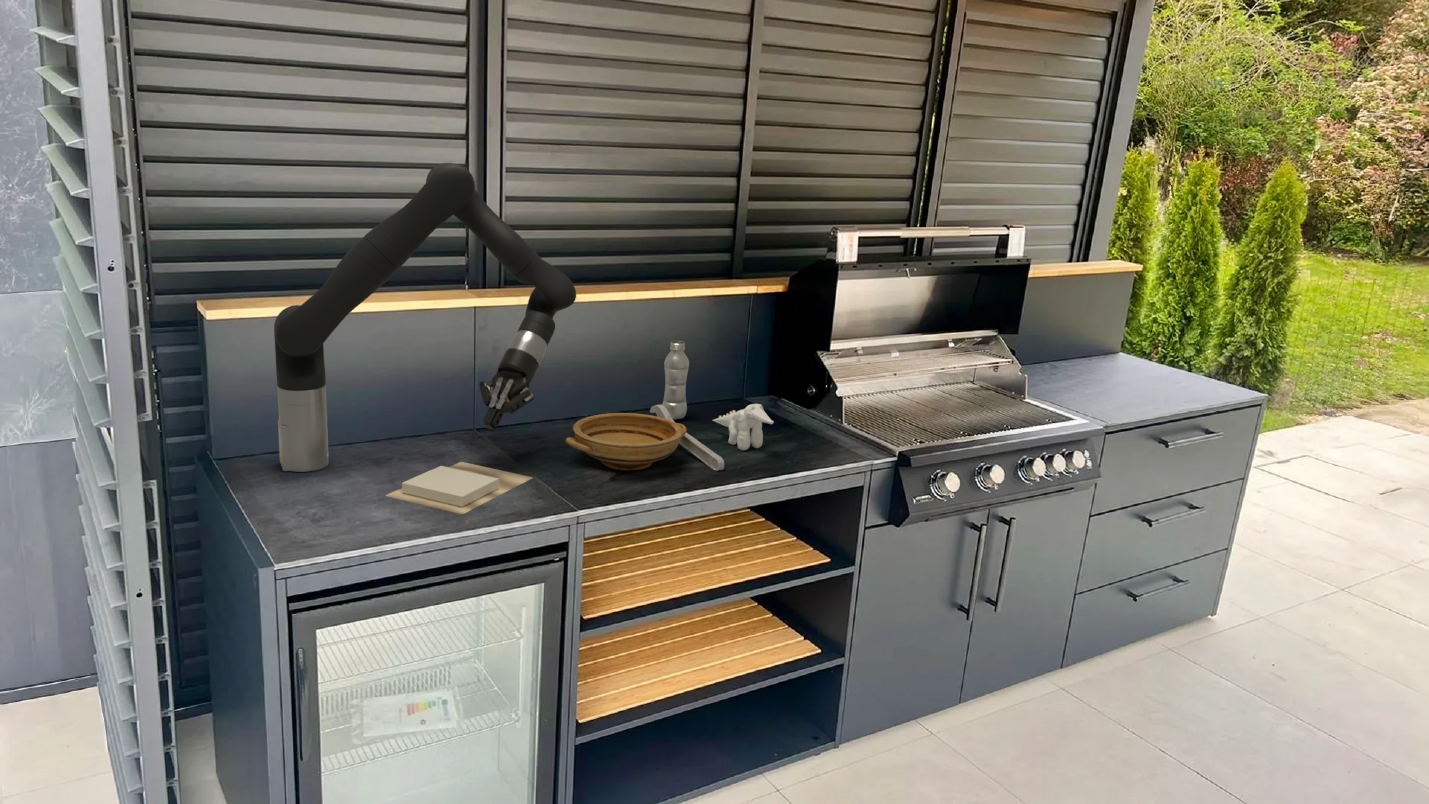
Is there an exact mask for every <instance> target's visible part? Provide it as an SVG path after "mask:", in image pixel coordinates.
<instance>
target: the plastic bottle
mask: <svg viewBox="0 0 1429 804" xmlns="http://www.w3.org/2000/svg"><path fill="white" fill-rule="evenodd" d="M669 349H670V352H669V353H668V354H667V355H666V357H665V360H664V365H663V367H664V377H665V378H664V379H665V380H664V382H665V385H664V393H663V394H664V396H663V401H662V403H661V405H663V406H665V407H666V409H667V411H668V412H669V414H670V416H671V418H672V419H673V420H682V419H684V417H685V416H686V415H687V411H688V407H687V406H688V405H687V397H686V394H687V392H686V386H687V377H688V373H689V367H690V361H689V358H688V356H687V355H686V353H685V350H686V343H685V341H682V340H672V341H670V347H669Z"/></svg>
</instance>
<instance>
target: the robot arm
mask: <svg viewBox="0 0 1429 804" xmlns="http://www.w3.org/2000/svg"><path fill="white" fill-rule="evenodd" d="M475 182H476V181H475V179H474V176H473V175H472V173H471V172H470V170H468V169H467V168H466V167H464V166H462V165H460V164H458V163H453V162H443V163H440V164H439V163H438V164H437V165H434V166H433V167H432V168H431V169H430V170H429V172H428V174H427V176H426V179H425V183H424V185H423V186H422V187H421V189H419V191H417V193H416V194H415V195H414V196H413V197H412V198H411V199H410V200H409V201H408V202H407V203H406V204H405V205H404V206H403V207H402V208H400V209H399V210H398V211H396V212H394V213H393V214H391V215H390V216H388V217H387V218H386V219H383V221H382V222H380V223H378V224H377V225H376V226H374V227H373V228H372V229H371V230H370V231H368V232H367V233H366V234H365V235H364V236H363V237H361V239H359V241H357V242H356V243H355V244H354V245H353V246H352V247H351V248H350V249H349V251H347V252H346V253H345V255H344V256H343V258H341V260H339V262H338V264H337V265H336V267H335V268H334V270H333V271H332V272H331V274H330V275H329V276H328V278H327V280H326V281H325V282H324V284H323V285H322V286H320V288H319V289H318V290H317V291H315V293H314V294H312V296H311V297H308V299H307V300H305V301H304V302H303V303H302V304H296V305H295V304H293V305H291V306H288V307H285V308H284V309H282V310H281V311H280V312H279V313H278V315H277V316H276V318H275V321H274V324H273V325H274V326H273V328H274V329H273V332H274V334H273V335H274V337H273V338H274V351H275V353H274V354H275V370H276V374H275V375H276V386H277V404H278V406H277V407H278V419H277V429H278V451H279V463H280V466H281V468H282V471H283V472H295V473H296V472H299V473H302V472H303V473H304V472H305V473H307V472H314V471H318V470H321V469H322V470H323V469H324V468H326V467H327V466H329V454H330V453H329V439H328V437H329V434H328V432H329V431H328V407H327V385H326V384H327V382H326V381H327V380H326V366H325V351H324V350H325V348H324V344H325V342H326V341H327V340H328V338H329V337H330V336H331V335H332V334H333V332H335V330H336V329H337V328H338V326H340V324H341V323H342V321H344V320H345V318H346V317H347V316H348V315H349V314H350V313H352V312H353V310H355V308H357V307H359V306H360V305H361V304H362V303H363V302H364V301H365V300H367V299H368V298H369V297H370V296H372V294H374V293H375V292H376V291H377V290H378V289H380V287H382V285H384V284H385V283H386V282H387V281H388V280H389V279H390V278H391V277H392V276H393V275H395V273H397V271H399V270H400V268H402V267H403V265H404V264H405V263H406V262H407V261H408V260H409V259H410V258H411V257H412V256H413V255H414V254H415V252H416V251H417V250H418V249H419V248H420V247H421V245H422V244H424V242H425V241H426V239H427V238H429V236H430V235H431V234H432V233H433V232H434V231H435V230H436V229H438V228H439V227H440V226H442V224H443V223H445V222H446V221H447V220H449V219H450V218H451V217H452V216H455V218H457V219H458V220H459V221H460V222H462V223H463V225H465V226H466V227H467V228H468V229H469V230H470V231H471V232H472V233H473V234H474V236H476V237H477V239H478V240H479V241H480V242H482V244H483V245H484V246H485V247H486V248H487V250H488V251H489V252H490V253H491V254H492V255H493V256H494V258H495V259H496V260H497V261H498V262H499V264H500V265H502V267H504V268H505V270H506V271H508V273H509V274H510V275H511V276H512V277H513V278H514V279H515V280H517V281H518V282H519V283H520V284H530V285H532V286H534V289H533V290H532V292H531V294H530V296H529V298H528V301H527V306H526V309H525V316H524V318H523V320H522V321H521V323H520V325H519V327H518V329H517V331H516V333H515V335H513V337H512V338H511V341H510V342H509V344H508V347H507V348H506V350H505V352H504V354H503V356H502V357H501V360H500V362H499V364H498V366H497V371H496V374H494V375H493V376H492V378H491V380H489V381H487V382H485V381H482V380H481V381H480V382H479V384H478V385H479V389H480V394H481V398H482V402H483V404H484V405H485V406H486V408H487V409H488V410H487V412H486V414H485V416H484V417H483V425H484V426H485V428H486V429H491V430H495V429H496V428H497V427H498V426H499V424H500V422H501V420H502V419H503V416H504V415H506V414H507V413H509V414H510V415H513V414H514V413H516V412H517V411H518V410H520V409H521V408H524V407H525V406H526V405H528V404H529V403H531V402H532V401H534V399H535V396H534V394H533V393H532V392H531V391H530V390H529V388H530V383H532V382H533V379H534V377H535V376H536V373H537V371H538V369H539V367H540V364H541V363H542V361H543V358H544V356H545V354H546V350H547V348H548V346H549V344H550V342H551V340H552V337H553V336H554V333H555V329H556V323H555V321H554V319H553V318H554V317H555V314H556V313H557V312H559V311H562V310H566V309H567V308H569V307H571V306H572V305H573V304H574V302H576V299H577V290H576V287H575V285H574V284H573V282H572V280H571V279H570V278H569V276H567V275H566V274H565V273H563V272H562V271H561V270H559V269H558V268H556V267H555V266H554V265H552V264H550V263H549V262H547V261H546V260H544V259H543V258H541V256H539V254H538V253H537V252H536V251H535V250H534V249H533V248H532V247H531V246H530V245H529V243H527V241H525V239H524V238H522V236H521V235H519V233H517V232H516V231H515V230H514V229H513V228H512V227H510V225H509V224H507V222H505V221H504V220H503V219H501V217H499V215H498V214H497V213H495V212H494V211H493V210H492V208H490V206H489V205H488V204H487V203H486V202H485V201H484V199H483V197H481V196H480V194H479V192H478V191H477V190H476V183H475Z"/></svg>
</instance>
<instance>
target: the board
mask: <svg viewBox="0 0 1429 804" xmlns="http://www.w3.org/2000/svg"><path fill="white" fill-rule="evenodd" d="M448 467H449V468H453V469H458V470H463V471H467V472H472V473H476V474H481V475H485V476H490V477H494V478H499V488H498V489H496V490H494V491H492V492H490V493H488V494H487V495H485V496H483V497H481V498H479V499H477V500H475V501H473V502H471V503H469V504H467V505H465V506H463V507H461V506H457V505H453V504H448V503H444V502H440V501H436V500H431V499H427V498H423V497H419V496H414V495H410V494H406V493H402V487H401V488H399V489H396V490H395V491H392V492H390V493H387V494H386V495H384V497H389V498H393V499H396V500H401V501H405V502H408V503H413V504H417V505H421V506H426V507H429V508H434V509H438V510H441V511H442V510H443V511H446V512H449V513H450V512H451V513H454V514H458V515H464V514H466V513H468V512H470V511H472V510H474V509H476V508H478V507H480V506H482V505H484V504H486V503H488V502H489V501H492V500H493V499H495V498H497V497H499V496H501V495H504V494H505V493H507V492H509V491H511V490H513V489H515V488H516V487H518V486H520V485H522V484H524V483H527V482H529V481H530V480H532V479H534V477H533V476H529V475H524V474H519V473H514V472H511V471H506V470H502V469H495V468H491V467H487V466H482V465H478V464H473V463H469V462H464V461H459V462H458V463H455V464H453V465H450V466H448Z"/></svg>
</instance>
